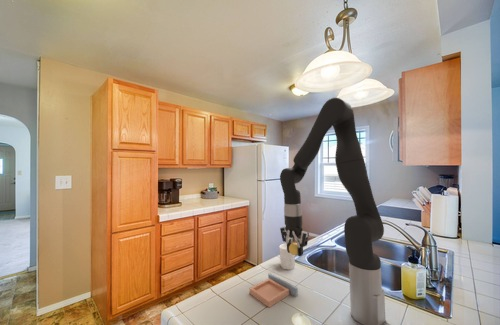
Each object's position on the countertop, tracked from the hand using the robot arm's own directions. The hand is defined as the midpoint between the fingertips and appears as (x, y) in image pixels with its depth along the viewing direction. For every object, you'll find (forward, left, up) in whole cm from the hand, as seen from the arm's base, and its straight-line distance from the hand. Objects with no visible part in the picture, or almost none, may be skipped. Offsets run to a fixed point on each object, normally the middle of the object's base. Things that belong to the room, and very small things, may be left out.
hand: (294, 253), depth 89 cm
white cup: (+12, -9, -13) cm, 20 cm away
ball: (0, 0, +2) cm, 2 cm away
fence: (+2, +7, -13) cm, 14 cm away
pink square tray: (+2, +14, -13) cm, 19 cm away
